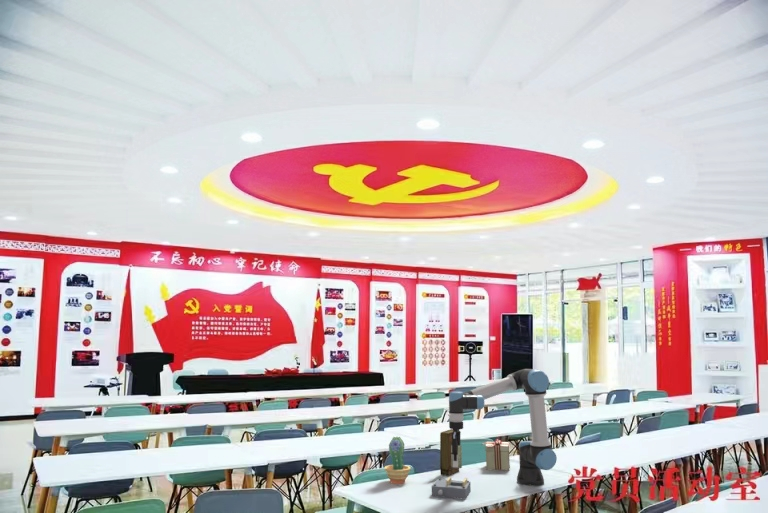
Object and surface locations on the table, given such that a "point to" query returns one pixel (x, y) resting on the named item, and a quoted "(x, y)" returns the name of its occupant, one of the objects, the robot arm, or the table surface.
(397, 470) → the potted cactus
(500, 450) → the gift box
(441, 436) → the book
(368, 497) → the table surface
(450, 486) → the grey shallow box
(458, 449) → the spout can
